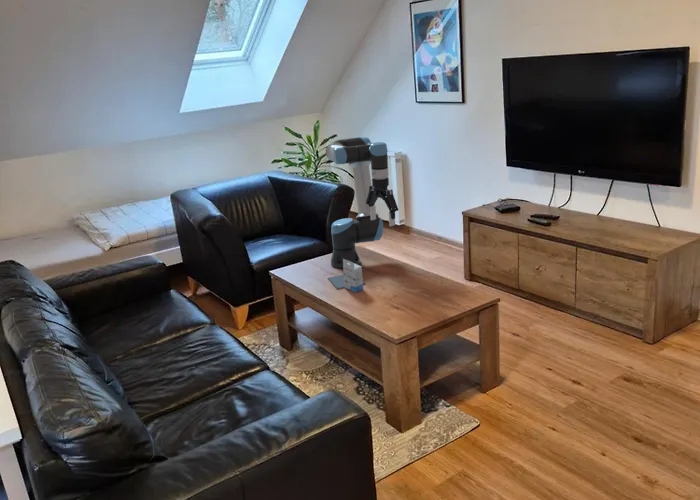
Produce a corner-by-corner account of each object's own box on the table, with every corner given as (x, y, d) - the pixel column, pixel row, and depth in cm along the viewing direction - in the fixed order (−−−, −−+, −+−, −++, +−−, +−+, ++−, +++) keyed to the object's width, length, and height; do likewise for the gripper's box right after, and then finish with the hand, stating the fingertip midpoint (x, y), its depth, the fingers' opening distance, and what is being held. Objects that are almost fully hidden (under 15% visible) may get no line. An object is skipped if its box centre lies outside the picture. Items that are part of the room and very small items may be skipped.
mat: (327, 278, 313) (327, 277, 313) (354, 273, 317) (354, 272, 317) (337, 289, 299) (337, 288, 298) (365, 284, 303) (365, 282, 302)
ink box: (363, 289, 296) (362, 260, 290) (355, 292, 293) (353, 263, 287) (352, 283, 302) (350, 255, 296) (343, 287, 299) (342, 258, 294)
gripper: (356, 175, 293) (359, 219, 300) (391, 183, 274) (394, 230, 281) (369, 172, 297) (372, 215, 304) (404, 179, 278) (406, 226, 285)
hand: (382, 222), depth 293 cm, fingers open, 13 cm apart
